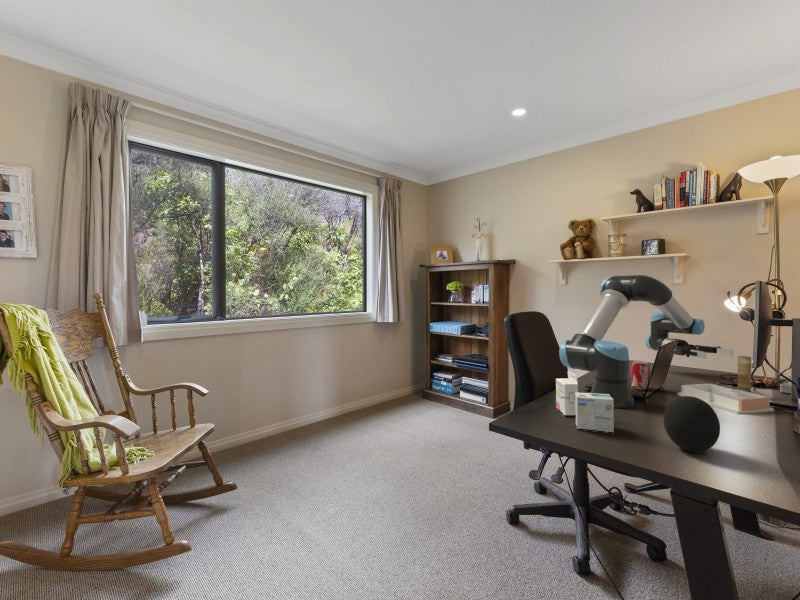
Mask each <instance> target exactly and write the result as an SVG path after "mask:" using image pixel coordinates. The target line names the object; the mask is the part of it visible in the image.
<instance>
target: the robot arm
mask: <svg viewBox="0 0 800 600" xmlns="http://www.w3.org/2000/svg"><path fill="white" fill-rule="evenodd" d="M599 287H600V288H599V294H600V298H601V300H600V301H599V303H598V305H597V306H596V308H595V309H594V311H593V313H592V314H591V315H590V317H589V318H588V320H587V322H586V323H585V324H584V326H583V328H582V330H581V331H580V332H578V333H575V334H574V335H573V336H572V338H571V339H566V340H563V341H562V342H561V343H560V345H559V351H558V353H559V360H560V361H561V363H562V365H563V366H565V367H566V368H569V369H572V370H580V371H585V372H590V373H594V381H593V382H594V383H593V384H592V388H591V391H590V393H596V394H610V396H611V397H612V398H613V403H614V408H618V409H619V408H620V409H622V408H623V409H624V408H631V407H633V406H634V405H635V399H634V396H633V392H632V391H631V387H630V383H629V381H630V380H629V379H630V378H629V376H630V375H629V374H630V373H629V371H630V370H629V367H630V366H629V365H630V364H629V363H630V362H629V361H630V356H629V355H630V354H629V349H628V347H627V346H626V345H624V344H623V343H619V342H615V341H609V340H608V341H607V340H603V339H604V337H605V335H606V334H607V332H608V330H609V329H610V328H611V326H612V323H613V322H614V321H615V319H616V317H617V316H618V314H619V312H620V311H621V310H622V309H625V308H627V307H628V305H629V303H630V302H646V303H649V304H650V305H652V306H655V307H657V309H659V310H660V311H661V312H654V313H651V314H650V321H649V322H650V335H648V336H647V337H646V339H645V340H644V342H645V346H646V347H647V348H648V350H649V349H650V350H653V351H656V352H658V351H657V350H658V348H659V346H660V345H662V344H665V343H668V342H670V341H673V340H678V341H677V344H676V347H675V350H674V353H673V354H672V355H677V356H681V357H682V356H683V357H684V356H685V357H686V358H690V357H695V358H701V359H707V358H706V357H707V356H706V353H707V354H716V355H721V356H727V357H734V350H733V349H726V348H722V346H720V345H718V346H709V345H700V344H699V345H698V344H692V343H691V344H689V343H688V342H687V341H686V340H685V339H679V338H674V337H673V338H672V337H669V336H670V335H669V334H670V333H673V334H683V335H698V336H699V335H702V334H703V333H704V331H705V327H706V326H705V325H706V324H705V321H704V320H703V319H701V318H694V317H692V315H691V314H689V312H688V311H687V310H686V309H685V308H684V307H683V306H682V304H680V302H678V301H677V299H676V297H674V296H673V292H672V290H671V289H670V288H669V286H667V285H666V284H665V283H664V282H662V281H660V280H659V279H656V277H655V278H654V277H652V276H648V275H644V274H638V275H636V274H635V275H634V274H633V275H632V274H631V275H613V276H607V277H606V278H604V279H603V281H601V284H600V286H599Z"/></svg>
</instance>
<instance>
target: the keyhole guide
mask: <svg viewBox="0 0 800 600" xmlns="http://www.w3.org/2000/svg"><path fill="white" fill-rule="evenodd" d="M680 389H681V392H677V396H679V397H682V396H692V397H696V398H699V399H701V400H703V401H705V402H706V403H707V404H709V405H710V406H711V407H715V408H718V409H721V410H724V411H727V412H730V413H734V414H736V415H740V414H741V415H742V414H754V413H764V412H766V413H767V412H774V411H775V408H773V407H771V406H770V404H771V403H770V402H771V397H769V396H765V395H762V394H758V393H757V394H754V393H750V392H746V391H742V390H738V388H735V389H736V390H733V389H734V388H729V387H725V386H722V385H717V384H714V383H699V384H697V383H696V384H683V385H681V387H680Z"/></svg>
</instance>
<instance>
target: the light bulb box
mask: <svg viewBox="0 0 800 600" xmlns="http://www.w3.org/2000/svg"><path fill="white" fill-rule="evenodd" d="M575 411H576V417H575V426H577V427H576V429H577V428H578V429H588V430H597V431H605V432H604V433H608V432H613V433H612V434H614V433H615V429H614V428H615V426H614V425H615V418H614V417H615V416H614V415H615V412H614V411H615V407H614V403H613V398H612V397H611V396H610V394H596V393H591V392H579V391H578V392H575ZM597 431H596V432H597Z"/></svg>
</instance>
